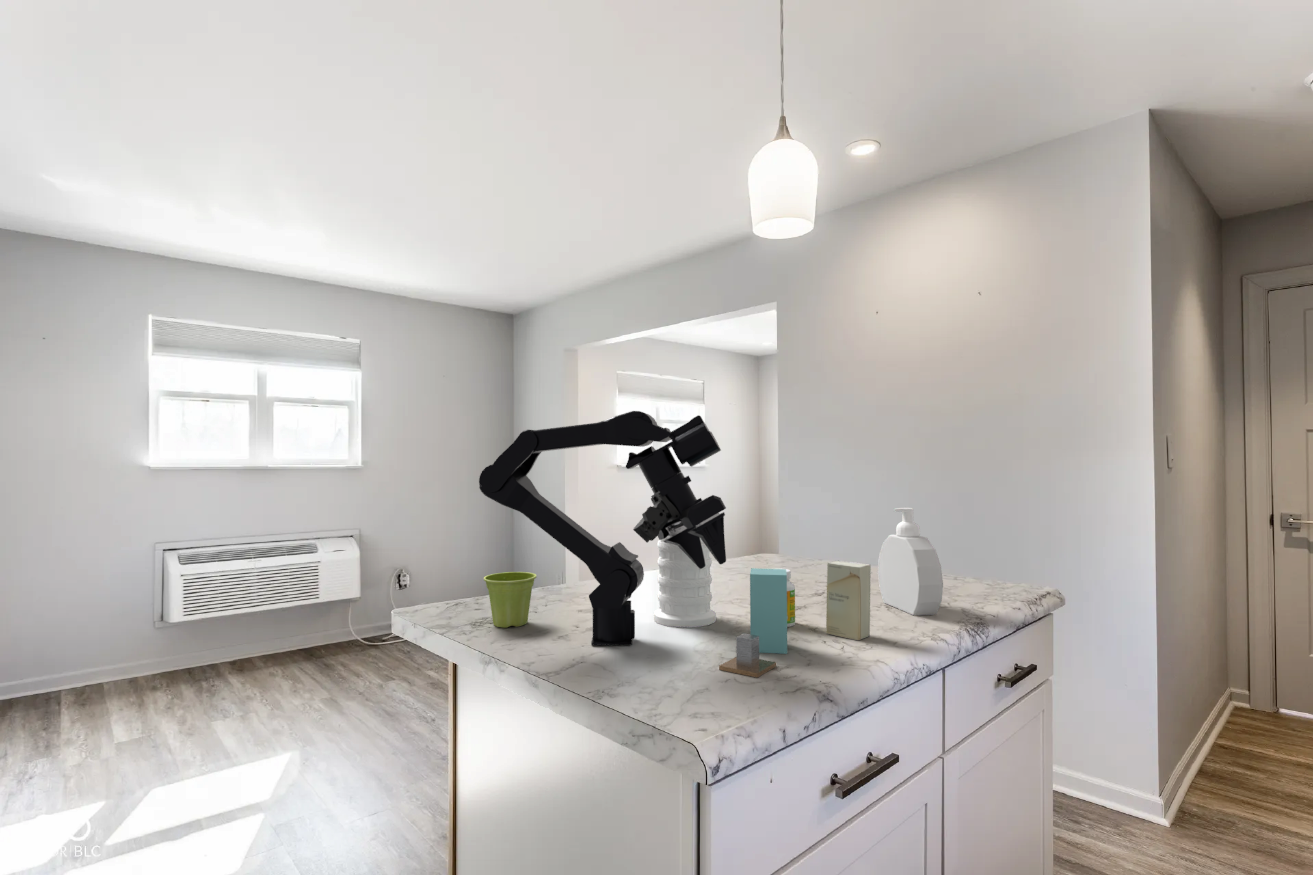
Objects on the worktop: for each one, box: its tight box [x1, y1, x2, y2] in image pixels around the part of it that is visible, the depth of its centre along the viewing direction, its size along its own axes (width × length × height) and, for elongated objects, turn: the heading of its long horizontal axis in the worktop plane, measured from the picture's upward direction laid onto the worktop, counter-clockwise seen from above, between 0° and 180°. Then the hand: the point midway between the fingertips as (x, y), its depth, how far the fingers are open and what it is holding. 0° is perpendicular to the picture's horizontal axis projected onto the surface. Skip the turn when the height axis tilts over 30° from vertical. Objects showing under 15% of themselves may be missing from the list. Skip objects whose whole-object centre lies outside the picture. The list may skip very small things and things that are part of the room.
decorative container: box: [653, 538, 717, 628], centre depth 125 cm, size 12×12×18 cm
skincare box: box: [825, 560, 872, 641], centre depth 113 cm, size 6×4×12 cm
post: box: [718, 632, 777, 678], centre depth 96 cm, size 6×6×4 cm
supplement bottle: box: [775, 567, 796, 628], centre depth 121 cm, size 5×5×10 cm
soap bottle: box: [877, 507, 944, 616], centre depth 133 cm, size 16×5×20 cm, turn 10°
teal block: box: [749, 567, 788, 655], centre depth 106 cm, size 6×6×12 cm
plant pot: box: [483, 571, 537, 629], centre depth 121 cm, size 9×9×9 cm
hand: (712, 565), depth 108 cm, fingers open, 9 cm apart
